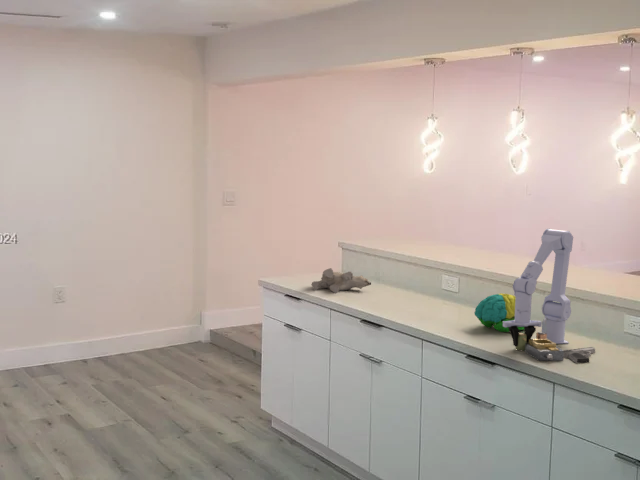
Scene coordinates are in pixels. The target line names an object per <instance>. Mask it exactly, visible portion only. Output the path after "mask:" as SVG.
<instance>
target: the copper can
mask: <svg viewBox="0 0 640 480" xmlns="http://www.w3.org/2000/svg"><path fill="white" fill-rule="evenodd" d="M535 335H536V337H535V339H547V334H546V333H545V332H542V331H537V332H536V334H535Z"/></svg>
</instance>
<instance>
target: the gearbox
mask: <svg viewBox="0 0 640 480" xmlns="http://www.w3.org/2000/svg"><path fill="white" fill-rule="evenodd" d="M563 350H564V349H562V348H560V347H558V346H557V344H556V343H554V342H552V341H550V340H549V339H536V338H531V339H529V343H525V351H524V353H526V354H527V355H528V356H531V357H532V358H534V359H535V360H537V361H538V362H548V361H549V362H550V361H552V362H553V361H564V358H563V356H564V351H563Z"/></svg>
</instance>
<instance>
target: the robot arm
mask: <svg viewBox="0 0 640 480" xmlns="http://www.w3.org/2000/svg"><path fill="white" fill-rule="evenodd" d="M540 238H541V240H540V241H541V244H540V246H539V249H538V251H537V252H536V254H535V257H534V259H533V260H532V261H529V262H528V263H527V265H526V267H525V268H524V270H523V272H522V274H521V275H520V276H519V277H518V278H515V280H514V281H513V284H512V290H513V293H514V295H513V296H515V297H516V299H515V319H514V320H511V321H503V327H508V328H509V330H510V331H509V333H510V335H511V338H512V339H511V340H512V345H513V346H514V347H516V346H518V335H519V333H520V331H521V330H519V329H518V328H517V327H524V334H526V335H527V341H526V343H529V339H532V337H533V336H534V334H535V332H536V330H537V328H536V327H538V328H541V332H545V333H546V334H547V339H549V340H550V341H552V342H554V343H556V345H558V344H562V345H563V344H570V343H569V341H567V340H565V334H566V321H568V319H569V318H570V316H571V314H572V308H571V302H572V301H571V300H570V299H569V298H568V297H567V295H566V288H567V280H568V279H567V278H568V272H569V264H570V256H571V252H572V251H573V241H574V235H573V234H572V232H570V230H561V229H559V230H558V229H551V228H545V230H544V231H543V233H542V235H541V237H540ZM552 252H554V253H555V256H554V262H553V263H554V265H553V273H552V280H551V281H552V282H551V290H550V293H549V294H548V295H546V296H545V297H544V299H543V300H544V301H543V304H542V305H541V312H542V315H543V316H544V319H543V320H542V321H541V320H531V314H532V297H533V294H534V293H535V291H536V289H537V288H536V287H537V283H538V279H539V277H540V275H541V274H542V272H543V270H544V267H543V264H544V263H546V260H547V259H548V258H549V256H550V254H551V253H552Z"/></svg>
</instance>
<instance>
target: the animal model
mask: <svg viewBox="0 0 640 480" xmlns="http://www.w3.org/2000/svg"><path fill="white" fill-rule="evenodd" d="M321 275H322V276H321V278H320V280H318V281H317V280H316V281H312V282H311V287H312V288H313V289H314V290H316V291H317V290H318V289H319V288H322V289H329V290H330V291H331V292H333V294H337V293H338V292H339V291H341V292H342V291H348V290H352V289H353V288H357V289H360V290H362V289H363V288H365V287H366V288H367V286H370V285H372V282H371V281H369V280H368V278H365V277H364V276H363V275H360V276H359V275H358V276H356V275H353V272H352V271H351V270H350V271H347V272H343V273H342V272H336V271H334V270H333V268H328V269H325V270H324V271H323V272H322V274H321Z"/></svg>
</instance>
